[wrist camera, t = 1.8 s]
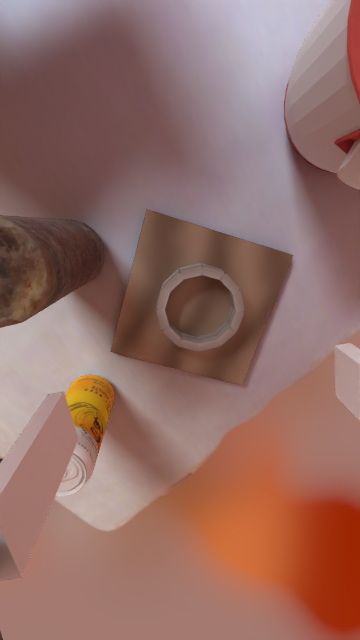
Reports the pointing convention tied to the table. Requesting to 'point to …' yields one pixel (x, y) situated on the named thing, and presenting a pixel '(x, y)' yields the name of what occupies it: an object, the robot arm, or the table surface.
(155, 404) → the table surface
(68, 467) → the beer can
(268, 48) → the table surface
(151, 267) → the can holder
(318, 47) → the citrus juicer
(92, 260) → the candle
